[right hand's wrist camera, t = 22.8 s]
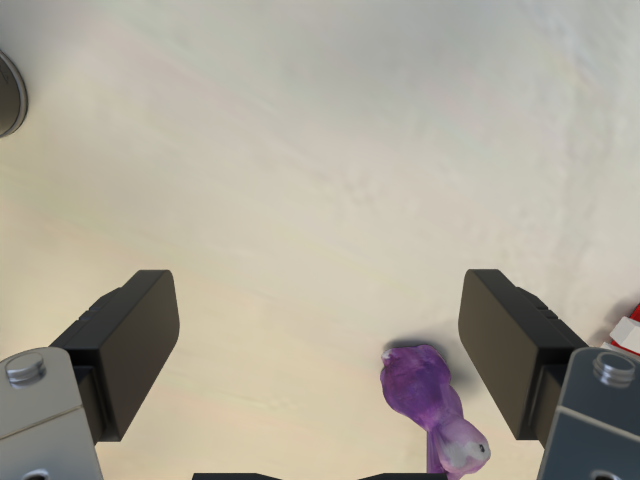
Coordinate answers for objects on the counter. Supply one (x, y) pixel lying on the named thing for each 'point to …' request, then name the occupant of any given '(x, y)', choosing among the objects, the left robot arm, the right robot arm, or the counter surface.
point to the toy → (626, 336)
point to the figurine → (433, 409)
